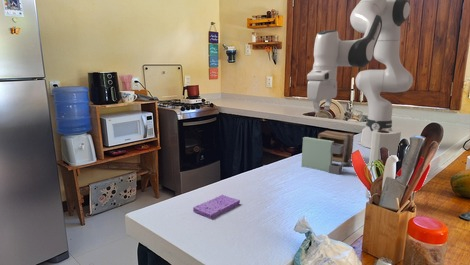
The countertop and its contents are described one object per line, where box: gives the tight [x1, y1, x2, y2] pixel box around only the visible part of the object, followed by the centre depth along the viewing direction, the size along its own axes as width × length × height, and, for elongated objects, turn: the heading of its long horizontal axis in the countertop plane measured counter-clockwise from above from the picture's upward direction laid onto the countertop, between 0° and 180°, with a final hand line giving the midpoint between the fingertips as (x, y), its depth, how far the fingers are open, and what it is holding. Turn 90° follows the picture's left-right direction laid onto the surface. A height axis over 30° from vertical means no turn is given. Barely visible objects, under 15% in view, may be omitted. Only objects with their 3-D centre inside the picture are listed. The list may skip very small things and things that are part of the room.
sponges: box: [192, 194, 241, 219], centre depth 91 cm, size 7×13×2 cm, turn 140°
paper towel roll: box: [365, 130, 402, 199], centre depth 96 cm, size 7×6×21 cm
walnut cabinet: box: [317, 130, 355, 168], centre depth 137 cm, size 14×16×13 cm
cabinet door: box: [301, 136, 344, 176], centre depth 124 cm, size 4×16×12 cm, turn 52°
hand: (322, 111), depth 121 cm, fingers open, 8 cm apart
